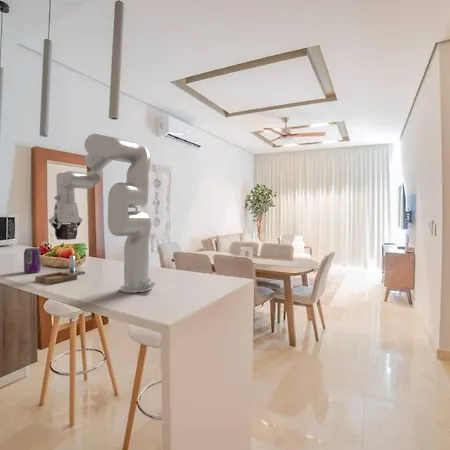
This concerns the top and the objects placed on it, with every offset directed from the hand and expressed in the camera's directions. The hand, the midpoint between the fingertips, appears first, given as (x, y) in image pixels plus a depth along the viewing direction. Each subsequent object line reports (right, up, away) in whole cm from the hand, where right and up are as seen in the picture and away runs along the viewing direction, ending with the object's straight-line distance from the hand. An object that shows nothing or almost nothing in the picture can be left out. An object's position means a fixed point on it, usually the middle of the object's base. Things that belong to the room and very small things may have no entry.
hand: (66, 236), depth 145 cm
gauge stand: (0, -19, +6) cm, 20 cm away
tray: (-1, -20, -7) cm, 21 cm away
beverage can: (-22, -19, +10) cm, 31 cm away
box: (0, -2, 0) cm, 2 cm away
